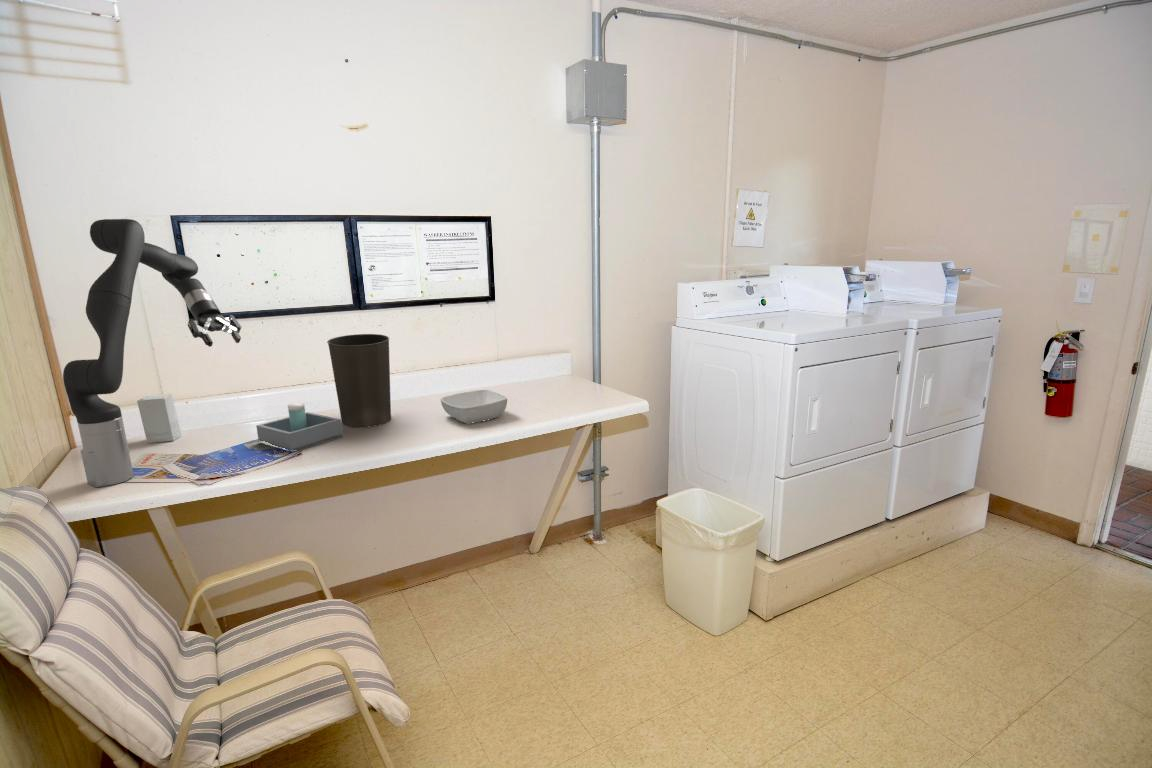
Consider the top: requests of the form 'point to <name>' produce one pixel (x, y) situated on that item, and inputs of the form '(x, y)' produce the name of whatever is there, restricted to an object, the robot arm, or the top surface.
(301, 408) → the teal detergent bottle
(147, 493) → the top surface
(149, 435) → the skincare box
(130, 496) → the top surface
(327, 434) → the slate bin
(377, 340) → the waste basket
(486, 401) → the square bowl
